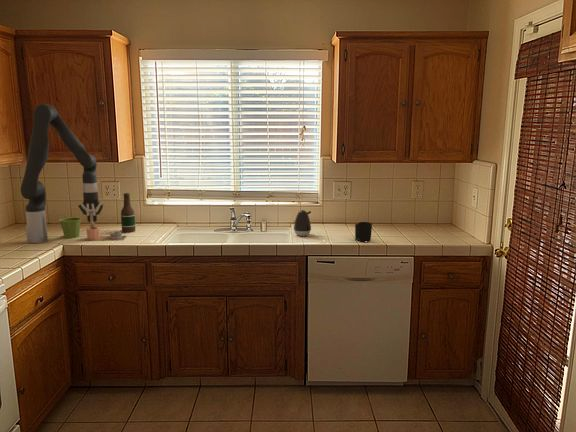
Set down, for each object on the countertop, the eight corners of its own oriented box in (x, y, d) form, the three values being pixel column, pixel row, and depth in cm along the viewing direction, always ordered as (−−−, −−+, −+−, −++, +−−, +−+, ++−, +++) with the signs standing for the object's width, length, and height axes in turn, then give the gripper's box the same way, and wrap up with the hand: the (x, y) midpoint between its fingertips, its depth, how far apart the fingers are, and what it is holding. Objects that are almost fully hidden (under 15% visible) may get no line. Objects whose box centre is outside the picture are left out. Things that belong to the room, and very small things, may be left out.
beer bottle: (121, 234, 270) (118, 194, 265) (123, 231, 277) (120, 192, 273) (134, 234, 271) (132, 194, 267) (136, 231, 279) (134, 192, 274)
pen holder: (352, 238, 265) (353, 221, 263) (368, 238, 266) (369, 221, 264) (356, 242, 256) (357, 225, 254) (373, 242, 257) (374, 225, 255)
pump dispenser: (313, 236, 269) (314, 211, 266) (297, 237, 266) (297, 212, 263) (307, 232, 279) (308, 208, 276) (291, 233, 276) (291, 209, 273)
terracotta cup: (86, 240, 252) (85, 229, 251) (89, 237, 258) (88, 227, 257) (98, 239, 253) (97, 229, 252) (101, 237, 259) (100, 226, 258)
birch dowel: (90, 229, 253) (89, 211, 251) (91, 228, 255) (90, 211, 253) (94, 229, 254) (93, 211, 252) (95, 228, 256) (94, 211, 254)
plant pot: (83, 235, 267) (81, 216, 265) (83, 239, 257) (82, 220, 255) (60, 237, 262) (58, 218, 260) (60, 241, 252) (58, 221, 250)
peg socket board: (83, 243, 250) (82, 235, 249) (89, 238, 260) (88, 231, 260) (123, 242, 253) (123, 235, 252) (127, 237, 263) (127, 230, 263)
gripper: (74, 192, 246) (77, 223, 249) (101, 191, 248) (103, 223, 251) (79, 190, 253) (81, 220, 256) (105, 190, 255) (107, 220, 258)
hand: (92, 221), depth 254 cm, fingers closed on birch dowel, 2 cm apart
